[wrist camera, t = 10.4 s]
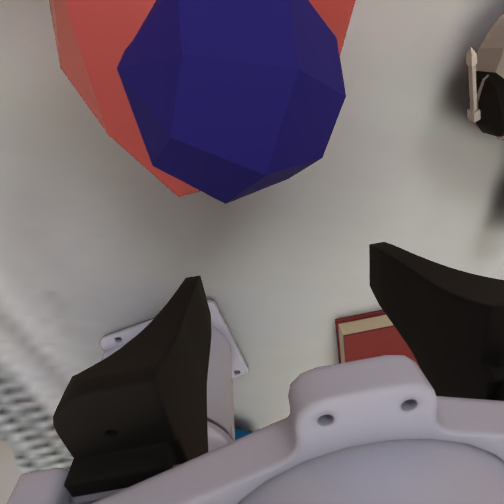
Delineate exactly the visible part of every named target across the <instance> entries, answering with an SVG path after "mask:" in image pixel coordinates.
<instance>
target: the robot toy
mask: <svg viewBox="0 0 504 504" xmlns="http://www.w3.org/2000/svg"><path fill="white" fill-rule="evenodd" d="M466 64H467V65H468V74H469V94H470V95H469V102H470V108H469V109H468V110H467V115H468V119H469V120H470V121H472V122H474V123H475V124H476V125H477V126H478V127H479V128H480V129H481V131H482V132H484V133H487V134H491V135H494V136H496V137H497V138H499V139H502V140H504V13H503V14H502V15H501V16H500V18H499V19H498V20H497V21H496V22H495V24H494V25H493V26H492V27H491V29H490V31H489V32H488V34H487V35H486V37H485V39H484V40H483V42H482V44H481V45H480V47H479V49H478V52H477V53H476V52H475V51H474V50H473V49H472V47H471V48H470V50H469V51H468V53H467V54H466Z"/></svg>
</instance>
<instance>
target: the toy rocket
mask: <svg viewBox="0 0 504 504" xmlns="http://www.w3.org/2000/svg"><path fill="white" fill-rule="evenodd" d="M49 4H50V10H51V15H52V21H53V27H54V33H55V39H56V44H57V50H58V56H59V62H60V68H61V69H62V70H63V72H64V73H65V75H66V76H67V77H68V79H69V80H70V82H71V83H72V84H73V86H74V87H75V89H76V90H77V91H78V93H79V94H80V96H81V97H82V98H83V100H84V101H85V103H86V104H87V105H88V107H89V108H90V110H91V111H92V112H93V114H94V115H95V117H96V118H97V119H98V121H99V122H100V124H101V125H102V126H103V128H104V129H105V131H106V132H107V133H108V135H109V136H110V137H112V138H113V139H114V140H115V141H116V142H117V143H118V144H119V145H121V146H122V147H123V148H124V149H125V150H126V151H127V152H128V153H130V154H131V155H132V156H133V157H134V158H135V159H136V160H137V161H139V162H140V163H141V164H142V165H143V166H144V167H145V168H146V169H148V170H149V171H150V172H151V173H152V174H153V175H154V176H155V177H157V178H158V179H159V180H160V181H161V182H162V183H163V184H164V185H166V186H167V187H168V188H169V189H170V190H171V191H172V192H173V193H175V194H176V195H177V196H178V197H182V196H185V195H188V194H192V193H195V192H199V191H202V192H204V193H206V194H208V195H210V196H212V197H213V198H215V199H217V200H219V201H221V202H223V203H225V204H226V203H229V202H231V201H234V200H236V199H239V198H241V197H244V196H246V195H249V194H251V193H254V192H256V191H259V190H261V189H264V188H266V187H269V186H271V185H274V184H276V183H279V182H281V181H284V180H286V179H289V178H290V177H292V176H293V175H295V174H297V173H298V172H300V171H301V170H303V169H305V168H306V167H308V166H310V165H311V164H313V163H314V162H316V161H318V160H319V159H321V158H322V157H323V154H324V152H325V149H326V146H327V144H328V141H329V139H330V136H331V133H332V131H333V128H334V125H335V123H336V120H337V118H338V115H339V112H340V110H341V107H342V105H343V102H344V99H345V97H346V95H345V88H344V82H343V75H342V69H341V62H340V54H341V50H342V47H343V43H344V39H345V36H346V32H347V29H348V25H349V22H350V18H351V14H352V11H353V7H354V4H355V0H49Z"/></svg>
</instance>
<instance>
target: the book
mask: <svg viewBox="0 0 504 504" xmlns="http://www.w3.org/2000/svg"><path fill="white" fill-rule="evenodd" d="M336 332H337V343H338V355H339V363H345V362H350V361H356V360H362V359H367V358H373V357H378V356H384V355H405V356H406V357H408V358H410V359H411V360H413V361H415V362H416V363H417V361H416V359H415V357H414V355H413V353H412V352H411V350H410V348H409V347H408V345H407V344H406V342H405V341H404V339H403V338H402V336H401V335H400V334H399V332H398V331H397V329H396V328H395V326H394V325H393V324H392V322H391V321H390V319H389V318H388V316H387V315H386V314H385V312H384V311H383V310H380V311H375V312H370V313H365V314H360V315H355V316H350V317H345V318H340V319H336ZM417 365H418V366H419V364H418V363H417ZM419 368H420V366H419ZM420 369H421V368H420ZM421 371H422V370H421Z"/></svg>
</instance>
